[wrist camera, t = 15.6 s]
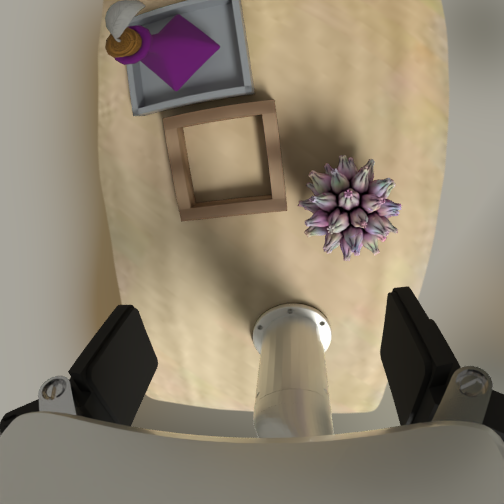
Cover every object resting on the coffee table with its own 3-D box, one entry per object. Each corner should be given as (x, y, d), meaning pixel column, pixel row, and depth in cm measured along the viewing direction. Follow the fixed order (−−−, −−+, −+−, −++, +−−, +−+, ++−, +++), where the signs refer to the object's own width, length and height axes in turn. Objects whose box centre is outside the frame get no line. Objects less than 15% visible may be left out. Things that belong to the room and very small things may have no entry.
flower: (307, 245, 42) (315, 291, 31) (286, 159, 37) (289, 176, 26) (387, 228, 39) (419, 267, 29) (374, 142, 35) (409, 152, 24)
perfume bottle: (184, 94, 34) (111, 80, 18) (146, 61, 32) (61, 36, 16) (226, 52, 31) (181, 3, 15) (185, 20, 30) (120, -34, 13)
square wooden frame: (286, 205, 40) (287, 210, 37) (186, 215, 41) (181, 221, 39) (274, 100, 34) (274, 99, 32) (169, 118, 36) (162, 118, 34)
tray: (254, 93, 34) (252, 91, 31) (143, 115, 36) (133, 116, 33) (240, -2, 28) (237, -10, 26) (132, 26, 31) (122, 21, 28)
